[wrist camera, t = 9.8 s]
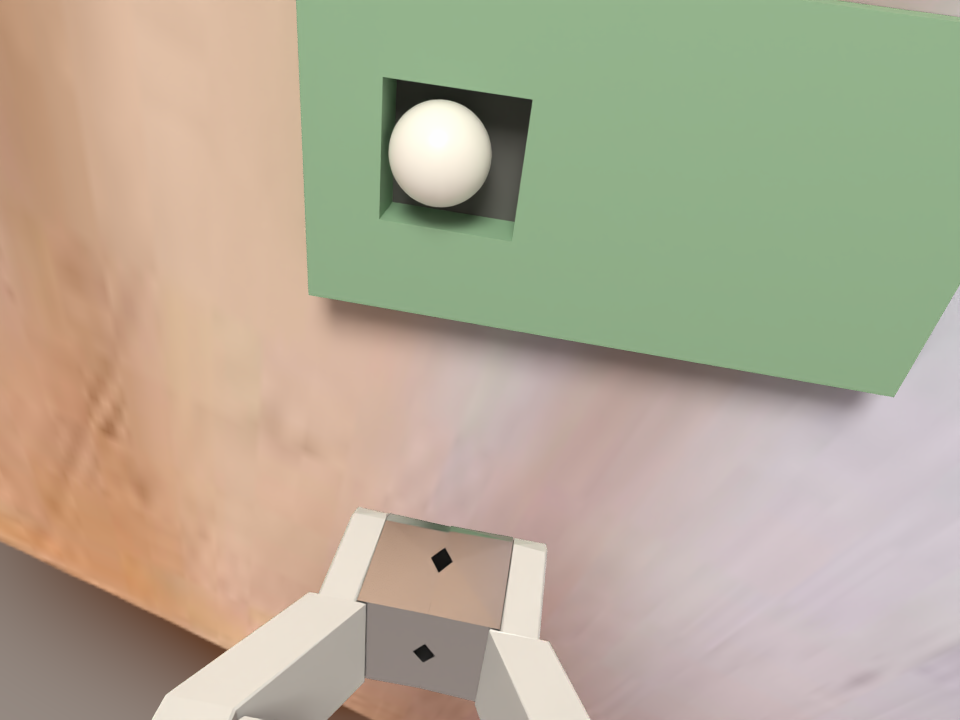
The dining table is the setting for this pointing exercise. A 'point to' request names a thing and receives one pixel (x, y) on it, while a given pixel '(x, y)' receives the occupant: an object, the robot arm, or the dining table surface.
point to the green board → (650, 175)
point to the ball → (440, 153)
